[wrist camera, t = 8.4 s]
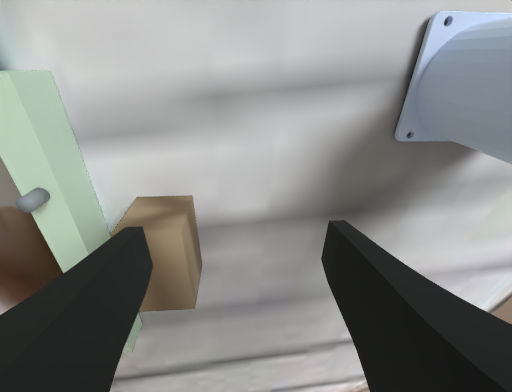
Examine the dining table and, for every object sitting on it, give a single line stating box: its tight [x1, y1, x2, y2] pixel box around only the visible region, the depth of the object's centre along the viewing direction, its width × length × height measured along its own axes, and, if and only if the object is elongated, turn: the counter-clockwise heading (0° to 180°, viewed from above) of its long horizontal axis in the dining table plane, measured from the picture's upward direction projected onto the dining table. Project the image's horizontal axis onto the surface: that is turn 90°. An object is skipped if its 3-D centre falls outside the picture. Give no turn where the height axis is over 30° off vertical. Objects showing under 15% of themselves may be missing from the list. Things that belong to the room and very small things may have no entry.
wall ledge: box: [0, 70, 142, 353], centre depth 20 cm, size 2×26×5 cm, turn 179°
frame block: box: [111, 196, 202, 312], centre depth 20 cm, size 5×8×5 cm, turn 0°
